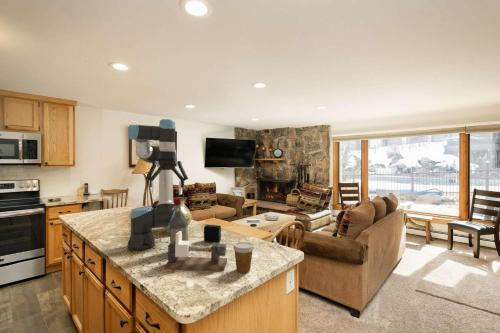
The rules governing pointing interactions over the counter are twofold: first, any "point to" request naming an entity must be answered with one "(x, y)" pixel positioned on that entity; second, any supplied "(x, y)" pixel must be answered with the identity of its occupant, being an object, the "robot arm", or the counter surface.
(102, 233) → the counter surface
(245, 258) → the disposable coffee cup
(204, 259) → the rail stand
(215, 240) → the electronic device
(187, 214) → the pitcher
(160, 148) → the robot arm
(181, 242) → the white l-shaped block
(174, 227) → the liquor
